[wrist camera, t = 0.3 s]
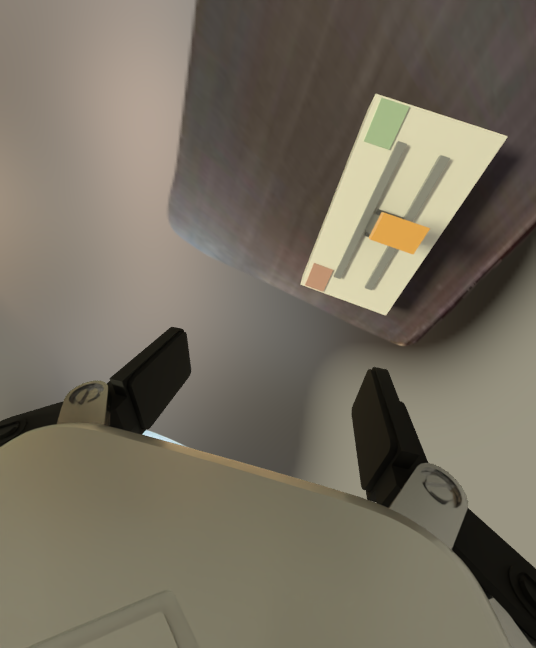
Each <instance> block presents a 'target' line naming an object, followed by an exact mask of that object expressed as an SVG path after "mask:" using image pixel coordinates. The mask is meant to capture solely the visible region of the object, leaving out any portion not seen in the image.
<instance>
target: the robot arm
mask: <svg viewBox="0 0 536 648" xmlns="http://www.w3.org/2000/svg"><path fill="white" fill-rule="evenodd" d="M190 373H191V365H190V358H189V349H188V341H187V334H186V332H184V330H183V329H180V328H175V327H171V328H169V329H168V330H167V331H166V332H164V334H162V335H161V336H160V337H159V338H157V339H156V340H155V341H154V342H153V343H151V344H150V345H149V346H148V347H147V348H145V349H144V350H143V351H142V352H141V353H139V354H138V355H137V356H136V357H135V358H133V359H132V360H131V361H130V362H129V363H127V364H126V365H125V366H124V367H123V368H122V369H120V370H119V371H118V372H117V373H116V374H114V375H113V376H112V377H111V378H110V381H109V382H108V383H107V384H106V383H105V382H103V381H90V382H86V383H83V384H81V385H79V386H77V387H75V388H74V389H72V390H71V391H70V392H69V393H68V394H67V395H66V397H65V399H64V401H63V402H60V403H56V404H53V405H50V406H46V407H43V408H40V409H36V410H33V411H30V412H26V413H23V414H20V415H16V416H13V417H10V418H7V419H5V420H2V421H0V648H536V569H535V568H534V567H533V566H532V565H531V564H530V563H529V562H527V561H526V560H525V559H524V558H523V557H522V556H521V555H520V554H519V553H517V552H516V551H515V550H514V549H513V548H512V547H511V546H510V545H509V544H507V543H506V542H505V541H504V540H503V539H502V538H501V537H500V536H498V535H497V534H496V533H495V532H494V531H493V530H492V529H491V528H490V527H488V526H487V525H486V524H485V523H484V522H483V521H482V520H481V519H479V518H478V517H477V516H476V515H475V514H474V513H473V512H472V511H471V510H469V509H468V500H467V496H466V494H465V492H464V490H463V488H462V487H461V485H460V484H459V483H458V482H457V480H456V479H454V477H453V476H451V475H450V474H449V473H448V472H447V471H445V470H444V469H442V468H441V467H439V466H436V465H434V464H430V463H428V461H427V459H426V456H425V454H424V451H423V449H422V446H421V444H420V441H419V439H418V436H417V434H416V431H415V429H414V426H413V424H412V421H411V419H410V417H409V414H408V411H407V409H406V407H405V405H404V403H402V402H400V401H399V398H398V396H397V393H396V390H395V388H394V385H393V383H392V380H391V377H390V375H389V372H388V370H386V369H381V368H376V367H373V368H372V370H371V369H369V370H368V371H367V373H366V376H365V378H364V380H363V383H362V385H361V388H360V390H359V392H358V395H357V397H356V399H355V402H354V404H353V407H352V420H353V428H354V436H355V442H356V451H357V458H358V466H359V473H360V480H361V487H362V489H363V490H366V494H367V500H366V499H363V498H361V497H358V496H354V495H351V494H348V493H344V492H341V491H338V490H335V489H332V488H328V487H325V486H322V485H319V484H315V483H311V482H308V481H305V480H301V479H297V478H294V477H290V476H287V475H284V474H280V473H277V472H273V471H270V470H266V469H263V468H259V467H256V466H252V465H249V464H245V463H242V462H238V461H235V460H231V459H227V458H224V457H221V456H217V455H213V454H210V453H206V452H203V451H199V450H196V449H192V448H188V447H185V446H181V445H178V444H174V443H170V442H167V441H163V440H159V439H156V438H152V437H149V436H145V435H142V434H143V433H144V431H145V430H146V429H149V428H150V427H151V426H152V425H153V424H154V422H155V421H156V420H157V418H158V417H159V416H160V414H161V413H162V412H163V410H164V409H165V408H166V406H167V405H168V404H169V402H170V401H171V400H172V399H173V397H174V396H175V395H176V393H177V392H178V391H179V389H180V388H181V387H182V385H183V384H184V383H185V381H186V380H187V379H188V377H189V376H190ZM369 500H370V501H369ZM372 501H373V502H372ZM375 502H377V503H375Z"/></svg>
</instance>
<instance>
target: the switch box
mask: <svg viewBox="0 0 536 648" xmlns="http://www.w3.org/2000/svg"><path fill="white" fill-rule="evenodd" d="M507 137H508V136H505V135H502V134H499V133H496V132H493V131H490V130H487V129H483V128H480V127H477V126H474V125H471V124H468V123H465V122H462V121H459V120H456V119H452V118H449V117H446V116H443V115H440V114H437V113H434V112H431V111H428V110H425V109H422V108H418V107H415V106H412V105H409V104H406V103H403V102H400V101H397V100H394V99H391V98H388V97H384V96H381V95H378V94H375V96H374V98H373V100H372V102H371V104H370V106H369V108H368V110H367V113H366V115H365V118H364V121H363V123H362V126H361V128H360V131H359V133H358V136H357V138H356V141H355V143H354V146H353V149H352V151H351V154H350V156H349V159H348V161H347V164H346V166H345V169H344V172H343V174H342V177H341V179H340V182H339V184H338V187H337V189H336V192H335V194H334V197H333V200H332V202H331V205H330V207H329V210H328V212H327V215H326V217H325V220H324V222H323V225H322V228H321V230H320V233H319V235H318V238H317V240H316V243H315V245H314V248H313V250H312V253H311V256H310V258H309V261H308V263H307V266H306V268H305V271H304V273H303V276H302V280H301V285H303V286H306V287H309V288H312V289H314V290H317V291H320V292H323V293H325V294H328V295H331V296H334V297H336V298H339V299H342V300H345V301H347V302H350V303H353V304H356V305H358V306H361V307H364V308H367V309H370V310H372V311H375V312H378V313H381V314H383V315H387V313H388V312H389V310H390V309H391V307H392V306H393V304H394V303H395V301H396V300H397V298H398V297H399V295H400V294H401V293H402V291H403V290H404V288H405V287H406V285H407V284H408V282H409V281H410V279H411V278H412V276H413V275H414V273H415V272H416V270H417V269H418V268H419V266H420V265H421V263H422V262H423V260H424V259H425V257H426V256H427V254H428V253H429V251H430V250H431V248H432V247H433V246H434V244H435V243H436V241H437V240H438V238H439V237H440V235H441V234H442V232H443V231H444V229H445V228H446V226H447V225H448V224H449V222H450V221H451V219H452V218H453V216H454V215H455V213H456V212H457V210H458V209H459V207H460V206H461V204H462V203H463V202H464V200H465V199H466V197H467V196H468V194H469V193H470V191H471V190H472V188H473V187H474V185H475V184H476V182H477V181H478V179H479V178H480V177H481V175H482V174H483V172H484V171H485V169H486V168H487V166H488V165H489V163H490V162H491V160H492V159H493V157H494V156H495V155H496V153H497V152H498V150H499V149H500V147H501V146H502V144H503V143H504V141H505V140H506V138H507ZM377 209H380V210H383V211H385V212H388V213H391V214H394V215H397V216H400V217H403V219H405V220H407V221H410V222H413V223H416V224H419V225H422V226H425V227H428V228H430V230H429V231H428V233H427V234H426V236H425V237H424V239H423V241H422V242H421V244H420V245H419V247H418V248H417V250H416V251H415V253H414V254H410V253H407V252H404V251H401V250H399V249H396V248H393V247H390V246H387V245H384V244H381V243H378V242H376V241H373V240H370V239H369V237H367V236H365V233H366V231H365V228H366V226H367V224H368V222H369V220H370V218H371V216H372V214H375V213H376V211H377Z"/></svg>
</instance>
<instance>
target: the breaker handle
mask: <svg viewBox="0 0 536 648" xmlns="http://www.w3.org/2000/svg"><path fill="white" fill-rule="evenodd" d="M429 230H430V228H428V227H425V226H422V225H419V224H416V223H413V222H410V221H407V220H405V219H403V217H400V216H397V215H394V214H391V213H388V212H385V211H383V210H380V209H377V211H376V213H375V214H372V216H371V218H370V220H369V222H368V224H367V226H366V228H365V231H366V233H365V236H367V237H369V239H370V240H373V241H376V242H378V243H381V244H384V245H387V246H390V247H393V248H396V249H399V250H401V251H404V252H407V253H410V254H414V253H415V251H416V250H417V248H418V247H419V245H420V244H421V242H422V241H423V239H424V237H425V236H426V234H427V233H428V231H429Z"/></svg>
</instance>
